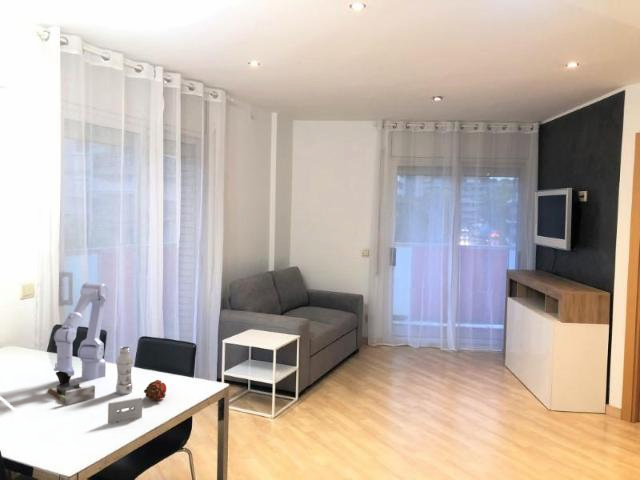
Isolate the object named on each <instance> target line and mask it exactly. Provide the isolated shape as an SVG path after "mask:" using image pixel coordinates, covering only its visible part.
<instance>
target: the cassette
mask: <svg viewBox="0 0 640 480" xmlns="http://www.w3.org/2000/svg"><path fill="white" fill-rule="evenodd" d="M124 409H127V410H124ZM142 417H143V398H142V397H135V398H130V399H125V400H119V401H112V402H108V404H107V423H108V425H111V424H119V423H122V422H123V423H125V422H128V421H129V422H130V421H133V420H139V419H142Z"/></svg>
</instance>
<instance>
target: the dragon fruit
mask: <svg viewBox="0 0 640 480" xmlns="http://www.w3.org/2000/svg"><path fill="white" fill-rule="evenodd" d="M166 392H167V385H166V383H164V382H162V381H161V380H160V379H156V380H154V381H151V382H150V383H148V386H147V387H146V388H145V389H144V390H143V393H145V397H146V398H147V399H149V400H152V401H154V402H158V401H159V400H160V399H161V400H162V399H164V398H165V397H166Z"/></svg>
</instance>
